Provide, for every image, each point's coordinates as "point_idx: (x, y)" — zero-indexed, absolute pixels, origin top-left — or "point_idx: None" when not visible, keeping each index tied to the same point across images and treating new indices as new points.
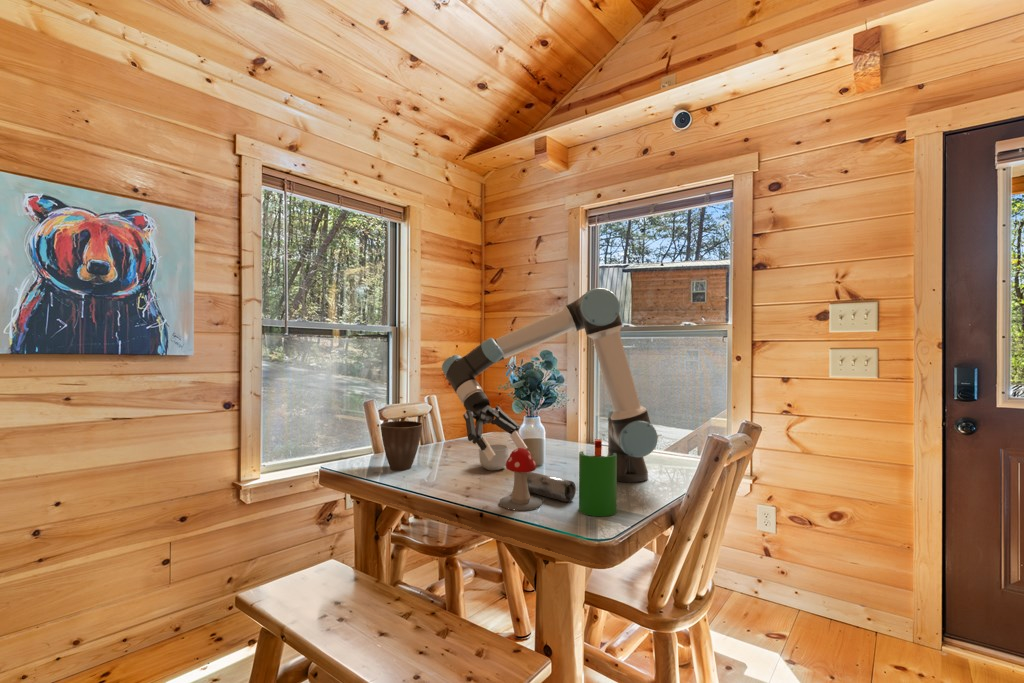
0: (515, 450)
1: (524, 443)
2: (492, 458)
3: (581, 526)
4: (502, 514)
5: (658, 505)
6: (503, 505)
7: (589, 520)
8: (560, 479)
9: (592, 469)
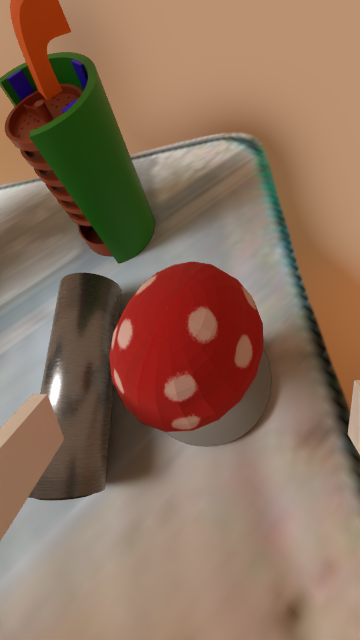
0: (204, 326)
1: (13, 418)
2: (354, 413)
3: (218, 192)
4: (310, 346)
5: (21, 191)
6: (270, 386)
7: (178, 204)
8: (73, 303)
9: (113, 114)
